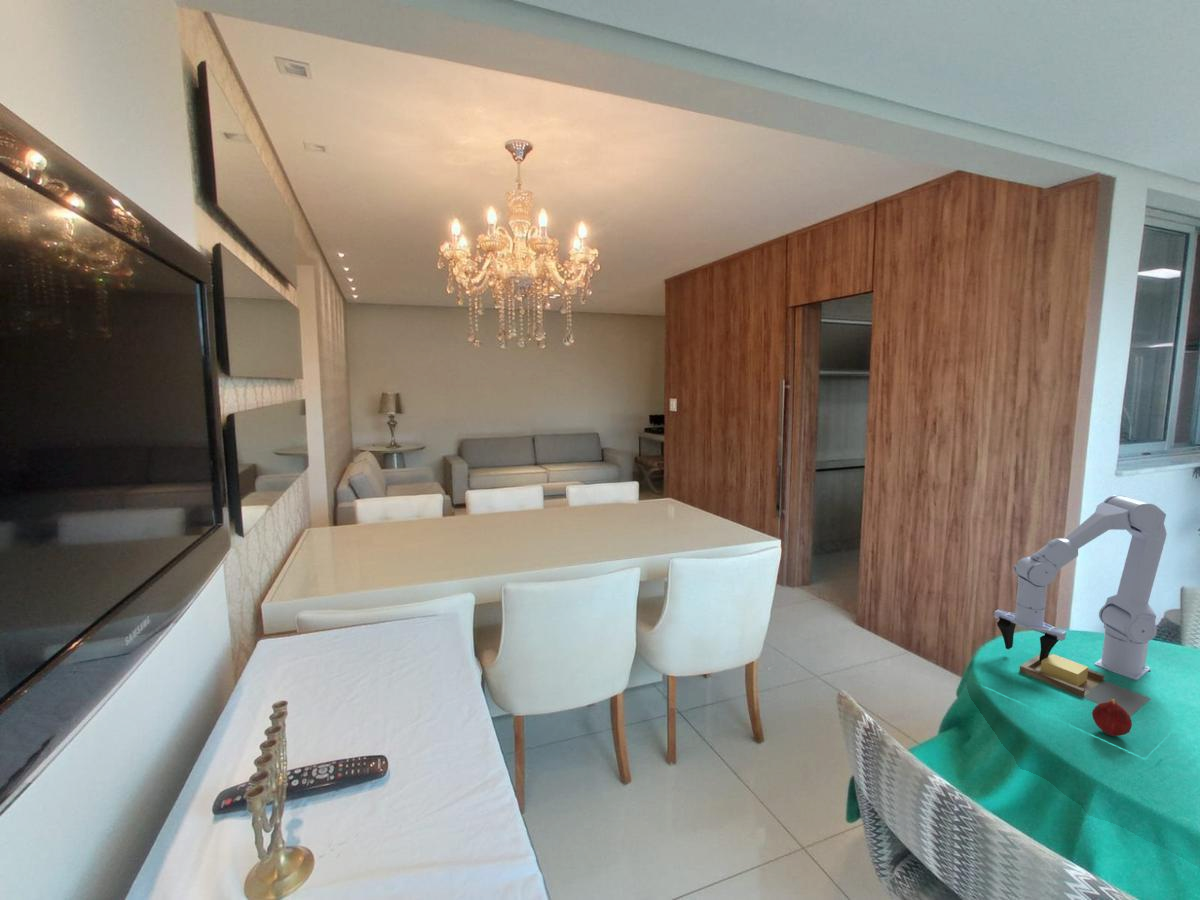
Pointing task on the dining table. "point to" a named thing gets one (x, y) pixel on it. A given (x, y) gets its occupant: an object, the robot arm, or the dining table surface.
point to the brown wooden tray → (1034, 670)
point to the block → (1064, 669)
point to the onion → (1112, 718)
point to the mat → (1117, 697)
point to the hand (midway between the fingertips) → (1025, 654)
